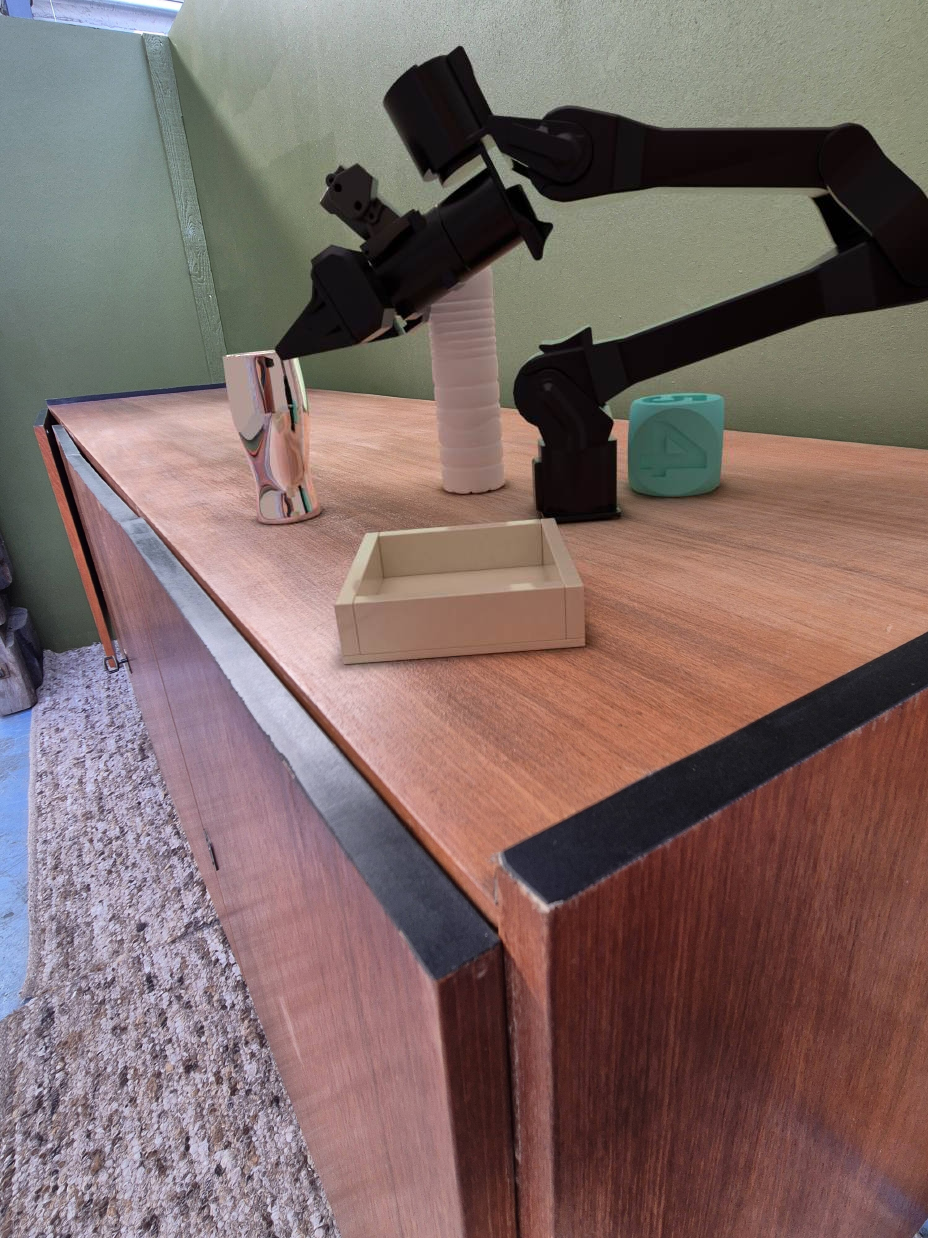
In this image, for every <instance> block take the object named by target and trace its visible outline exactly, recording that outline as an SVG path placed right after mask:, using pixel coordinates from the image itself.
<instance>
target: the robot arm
mask: <svg viewBox="0 0 928 1238" xmlns="http://www.w3.org/2000/svg"><path fill="white" fill-rule="evenodd" d="M382 107H383V109H384V110H385V113H386V115H387V116H388V118H389V120H390V122H391V124H392V127H394V129H395V132H396V133H397V136H398V137H399V139H400V141H401V143H402V145H403V146H404V149H405V150H406V152H407V154H408V156H409V158H410V159H411V161H412V163H413V165H414V167H415V169H416V171H417V173H418V174H419V176H420V178H421V180H422V182H423V183H430V182H433V181H435V180H438V182H439V184H440V187H441V188H442V189H446V188H449V187H451V186H453V185H455V184H457V183H459V182H460V181H462V180H463V179H465V178H466V177H467V176H470V174H471V173H473V172H474V171H475V170H476V169H478V168H479V167H480V166H482V164H485V166H486V167H485V168H483V169H482V170H480V171H479V172H478V173H476V174H475V175H474V176H472V177H471V178H469V179H468V180H467V181H465V182H463V184H461V185H460V186H458V187H457V188H456V189H455V190H453V191H452V192H450V193H449V194H448V195H446V196H445V197H444V198H442V199H441V200H439V201H438V202H437V203H435V204H434V205H433V206H431V207H430V208H429V209H427V210H425V211H424V212H423V211H422V210H420V209H415V208H412V209H410V210H408V211H406V213H403V214H402V212H401V211H399V209H398V208H397V207H395V206H394V205H393V204H392V203H391V202H390V201H389V200H387V199H386V198H385V197H384V196H383V195H382V194H381V193H380V192H378V190H379V182H380V181H379V179H378V178H377V177H375V176H374V175H372V174H371V173H369V171H368V170H366V167H364V166H363V165H361V164H360V163H359V162H356V163H354V164H352V165H351V166H349V167H347V166H346V165H344V164H339V166H338V167H337V169H336V170H335V171H334V172H333V173H328V174H327V175H326V177H325V186H327V188H326V190H325V191H324V193H323V195H322V196H321V198H320V200H319V202H318V203H319V205H320V206H321V208H322V209H324V210H325V211H326V212H327V213H328V214H330V215H335V216H336V217H337V218H338V219H339V220H341V222H343V223H344V224H345V225H346V226H347V227H348V228H349V229H351V230H352V232H354V233H355V234H356V235H358V237H360V239H363V240H364V242H362V243H361V244H360V245H358V248H359V249H360V250H357V249H353V248H349V247H346V246H342V245H337V244H330V245H329V246H327V247H326V248H325V249H323V250H322V251H320V252H319V253H318V254H316V255H315V256H314V257H313V258H311V259H310V264H311V268H310V272H309V277H310V279H311V297H310V299H309V301H308V302H307V304H306V306H305V307H304V309H303V310H302V311H301V313H300V314H299V315H298V317H297V318H296V320H295V321H294V322H293V323H292V325H291V326H290V327H289V328H288V330H287V331H286V332H285V334H284V335H283V336H282V337H281V339H280V340H279V342H277V344H276V345H275V346H274V350H275V352H276V353H277V355H278V357H279V358H280V359H281V360H282V361H285V360H290V359H294V358H298V359H299V358H303V357H304V358H305V357H308V356H313V355H317V354H323V353H327V352H332V351H333V352H334V351H338V350H342V349H346V348H347V349H348V348H351V347H357V346H361V345H366V344H371V343H376V342H380V341H385V340H389V339H394V338H399V337H404V336H406V334H412V333H414V332H415V331H417V330H418V329H420V328H421V327H423V326H424V325H426V324H427V323H429V322H428V321H429V316H430V311H431V305H432V304H434V303H435V302H437V301H438V300H440V299H441V298H443V297H444V296H446V295H447V294H449V293H450V292H452V291H458V290H459V289H461V288H462V287H464V286H465V285H467V283H466V281H468V280H469V279H471V278H472V277H474V275H476V274H478V273H479V272H481V271H482V270H484V269H485V268H487V267H488V266H489V265H490V266H491V265H493V264H494V263H496V262H497V261H499V260H500V259H501V258H503V257H504V256H506V255H508V253H510V252H511V251H513V250H515V249H517V248H518V247H519V246H520V245H522V244H523V243H525V245H526V248H527V249H528V251H529V253H530V256H531V257H532V259H533V260H534V261H535V262H536V263H539V264H540V263H542V262H544V261H545V257H546V250H547V247H548V244H549V240H550V239H551V237H552V235H553V232H554V231H555V225H554V224H553V223H552V222H550V221H543V220H540V219H539V217H538V215H537V213H536V211H535V209H534V206H533V205H532V203H531V200H530V199H529V196H528V194H527V193H526V191H525V189H524V186H523V185H522V184H521V183H516V184H514V185H511V186H508V187H507V186H506V185H505V183H504V180H503V179H502V176H501V175H500V173H499V170H498V169H497V167H496V165H495V163H494V161H493V159H492V157H491V155H490V153H489V151H490V150H492V149H493V148H495V147H496V148H497V150H498V151H499V153H500V155H501V157H502V159H503V161H504V163H505V164H506V166H507V168H508V170H509V171H512V172H514V173H515V174H516V175H519V176H520V177H523V178H525V179H526V180H528V181H529V182H530V183H531V186H532V188H533V190H534V193H535V195H536V196H537V197H538V199H539V200H540V201H541V202H542V203H543V204H544V206H545V207H547V208H549V209H552V210H554V211H558V212H562V213H563V212H564V213H565V212H572V211H578V210H584V209H589V208H594V207H599V206H600V207H601V206H605V205H610V204H614V203H617V202H622V201H626V200H630V199H633V198H637V197H643V196H649V195H762V196H763V195H767V196H768V195H770V196H771V195H772V196H773V195H775V196H776V195H777V196H778V195H784V196H785V195H786V196H787V195H789V196H790V195H791V196H806V197H808V199H809V200H810V201H811V203H812V204H813V206H814V207H815V209H816V211H817V214H818V215H819V217H820V219H821V222H822V224H823V226H824V228H825V230H826V232H827V235H828V237H829V239H830V241H831V243H832V244H833V246H834V247H833V248H831V249H830V250H827V252H825V253H823V254H822V255H820V256H819V257H817V258H816V259H814V260H813V261H811V262H810V263H808V264H807V265H804V266H803V267H801V268H800V269H797V270H796V271H793V272H791V273H788V274H785V275H782V276H780V277H776V278H774V279H772V280H770V281H769V280H768V281H766V282H763V283H761V284H758V285H755V286H753V287H750V288H747V289H745V290H742V291H739V292H736V293H734V294H731V295H729V296H725V297H723V298H721V299H718V300H715V301H712V302H710V303H707V304H704V305H701V306H699V307H696V308H694V309H691V310H687V311H686V312H682V313H680V314H678V315H677V314H676V315H675V316H672V317H669V318H667V319H664V320H661V321H659V322H655V323H653V324H651V325H648V326H644V327H642V328H640V329H637V330H634V331H631V332H629V333H626V334H623V335H620V336H614V337H608V338H602V339H600V338H599V339H595V340H594V339H593V329H592V327H591V325H590V324H586V325H583V326H582V327H580V328H578V329H577V330H575V331H573V332H572V333H570V334H568V335H567V336H564V337H563V338H559V339H543V340H542V341H541V342H540V344H539V345H538V349H539V351H538V352H536V353H534V354H533V355H531V356H529V358H528V359H527V360H526V361H525V362H524V364H523V365H522V366H521V367H520V369H519V370H518V372H517V374H516V377H515V379H514V382H513V388H512V396H513V403H514V405H515V408H516V409H517V412H518V413H519V415H520V417H522V418H523V419H524V420H525V421H526V423H528V424H530V425H532V426H535V428H537V430H538V432H539V434H540V437H541V439H539V438H538V439H537V457H533V458H532V459H531V479H532V497H533V498H532V499H533V501H532V502H533V505H534V508H535V511H536V512H538V513H540V516H541V519H549V518H554V519H555V521H556V523H563V522H573V521H588V520H598V519H599V520H600V519H601V520H602V519H612V518H620V517H622V515H623V514H622V513H623V512H622V511H623V510H622V509H621V508H620V507H619V505H618V439H617V438H616V437H615V436H614V435H612V431H613V428H614V425H615V422H614V418H613V415H612V412H611V408H610V405H609V404H608V402H609V401H611V400H612V399H613V398H615V397H617V396H618V395H620V394H621V393H623V392H624V391H626V390H627V389H629V388H631V387H632V386H634V385H636V384H638V383H642V382H644V381H647V380H650V379H652V378H655V377H658V376H661V375H665V374H667V373H670V372H672V371H676V370H678V369H681V368H684V367H687V366H690V365H693V364H695V363H699V362H701V361H704V360H707V359H710V358H713V357H716V356H718V355H721V354H724V353H727V352H730V351H732V350H734V349H739V348H741V347H744V346H747V345H750V344H752V343H755V342H759V341H761V340H763V339H767V338H770V337H772V336H775V335H779V334H781V333H783V332H786V331H789V330H792V329H795V328H798V327H801V326H804V325H807V324H810V323H812V322H815V321H818V320H822V319H829V318H835V317H842V316H850V315H856V314H864V313H870V312H877V311H883V310H888V309H889V310H890V309H895V308H901V307H906V306H910V305H911V306H912V305H917V304H921V303H926V302H928V196H927V194H926V193H925V191H924V190H923V189H922V188H921V186H920V185H918V184H917V183H916V182H915V181H914V180H913V179H912V178H910V177H909V176H908V175H907V174H906V173H905V172H904V171H903V170H902V169H901V168H900V167H899V166H898V165H896V163H894V162H893V161H892V160H891V159H890V158H889V157H888V156H887V155H886V154H885V152H884V151H883V149H882V148H881V146H880V145H879V144H878V142H877V140H876V139H875V138H874V136H873V135H872V133H871V131H870V130H869V129H867V127H864V125H862V124H860V123H855V122H851V121H849V122H843V123H840V124H837V125H833V126H776V127H775V126H769V127H767V126H766V127H765V126H763V127H762V126H760V127H759V126H758V127H757V126H756V127H755V126H754V127H753V126H752V127H751V126H749V127H748V126H747V127H745V126H744V127H742V126H741V127H738V126H737V127H662V126H656V125H652V124H647V123H645V122H641V121H640V120H639V121H638V120H635V119H632V118H630V117H627V116H625V115H622V114H618V113H613V112H609V111H604V110H599V109H594V108H590V107H585V106H580V105H571V104H568V105H563V106H557V107H555V108H553V109H551V110H550V111H548V112H547V113H546V114H545V115H544V116H543V117H542V118H533V117H519V116H510V115H509V116H507V115H498V114H494V113H493V111H492V109H491V107H490V105H489V103H488V102H487V99H486V97H485V94H484V93H483V90H482V89H481V87H480V84H479V83H478V79H477V76H476V71H475V69H474V67H473V64H472V62H471V59H470V58H469V56H468V54H467V52H466V49H465V47H464V46H463V45H458V46H456V47H455V48H453V50H451V51H450V52H448V53H447V54H442V55H441V54H440V55H438V56H437V55H436V56H434V57H432V58H430V59H427V60H426V61H424V62H422V63H421V64H419V65H418V64H417V63H416V64H413V65H412V66H410V67H409V68H408V69H407V70H406V71H404V72H403V73H402V74H401V75H400V76H399V77H398V78H397V79H396V80H395V81H394V82H393V84H391V85H390V87H389V89H388V90H386V93H385V95H384V96H383V99H382ZM400 318H401V319H402V321H405V323H406V324H405V325H404V326H402V324H401V323H400V321H399V319H400Z"/></svg>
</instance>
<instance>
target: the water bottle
mask: <svg viewBox="0 0 928 1238" xmlns="http://www.w3.org/2000/svg"><path fill="white" fill-rule="evenodd" d="M466 283H467V285H465V286H464V287H462V288H461V289H459V290H458V291H452V292H450V293H449V294H447V295H446V296H444V297H443V298H441V299H440V300H438V301H437V302H435V303H434V304H432V305H431V311H430V316H429V321H428V322H427V323H428V324H427V329H428V332H429V333H428V337H429V340H430V342H429V348H430V350H431V351H430V357H431V376H432V382H433V385H434V388H433V393H434V394H433V395H434V403H435V405H436V409H435V416H436V420H437V422H438V423H437V436H438V442H439V443H440V444H439V458H440V462H441V467H440V468H441V470H440V471H441V481H442V487H443V489H444V490H445V491H446V492H448V493H455V494H470V493H472V494H479V493H486V492H488V491H494V490H498V489H500V488H501V487H503V486H504V485H505V483H506V473H505V461H504V460H503V457H504V445H503V440H502V436H503V425H502V422H501V418H502V417H501V416H502V409H501V404H500V397H501V396H500V395H501V391H500V383H499V381H498V379H499V361H498V355H497V353H498V351H497V349H498V348H497V345H496V344H497V337H496V336H495V335H496V333H497V332H496V330H497V329H496V327H495V325H496V319H495V317H494V316H495V308H494V306H495V300H494V299H493V297H494V276H493V270H492V267H491V265H489V266H488V267H487V268H485V269H484V270H482V271H481V272H479V273H478V274H476V275H474V277H472V278H471V279H469V280H468V281H466Z"/></svg>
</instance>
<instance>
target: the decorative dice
mask: <svg viewBox="0 0 928 1238" xmlns="http://www.w3.org/2000/svg"><path fill="white" fill-rule="evenodd" d="M724 427H725V398H724V397H722V396H721V395H719V394H715V393H706V392H705V393H702V392H701V393H699V392H686V393H669V394H657V395H650V396H649V395H648V396H644V397H641V398H640V397H639V398H636V399H635V400H634V401H632V403H631V405H630V409H629V416H628V432H627V481H628V485H629V486H630V487H631V488H632V489H633V490H634V491H635V492H637V493H639V494H642V495H646V496H652V497H663V498H664V497H665V498H667V497H668V498H674V497H676V498H679V497H690V496H697V495H703V494H707V493H710V492H712V491H714V490H716V488H717V487H719V486H720V484H721V477H722V466H723V465H722V463H723V447H724V432H725V431H724V430H725V429H724Z"/></svg>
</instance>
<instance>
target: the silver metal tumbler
mask: <svg viewBox="0 0 928 1238" xmlns="http://www.w3.org/2000/svg"><path fill="white" fill-rule="evenodd" d="M221 359H222V364H223V371H224V380H225V387H226V393H227V394H226V395H227V399H228V405H229V409H230V413H231V418H232V422H233V424H234V425H233V426H234V428H235V431H236V433H237V436H238V439H239V442H240V444H241V447H242V449H243V453H244V455H245V457H246V459H247V462H248V465H249V468H250V470H251V471H250V472H251V473H252V477H253V480H254V485H255V491H256V516H257V520H258V522H260V523H262V524H265V525H285V524H293V523H300V522H303V521H306V520H309V519H313V518H315V517H317V516H318V515H320V514H321V512H322V507H321V505H320V502H319V499H318V496H317V493H316V490H315V486H314V484H313V478H312V473H311V472H312V471H311V460H310V459H311V456H310V454H311V453H310V451H311V450H310V449H311V447H310V446H311V444H310V443H311V437H310V436H311V434H310V433H311V432H310V429H311V428H310V426H311V425H310V424H311V423H310V409H309V402H308V394H307V390H306V385H305V380H304V375H303V371H302V367H301V363H300V360H299V358H294V359H290V360H285V361H282V360H281V359H280V358H279V357H278V355H277V353H276V352H275V349H270V350H260V351H251V352H241V353H240V352H239V353H232V354H225V355H222V356H221Z"/></svg>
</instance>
